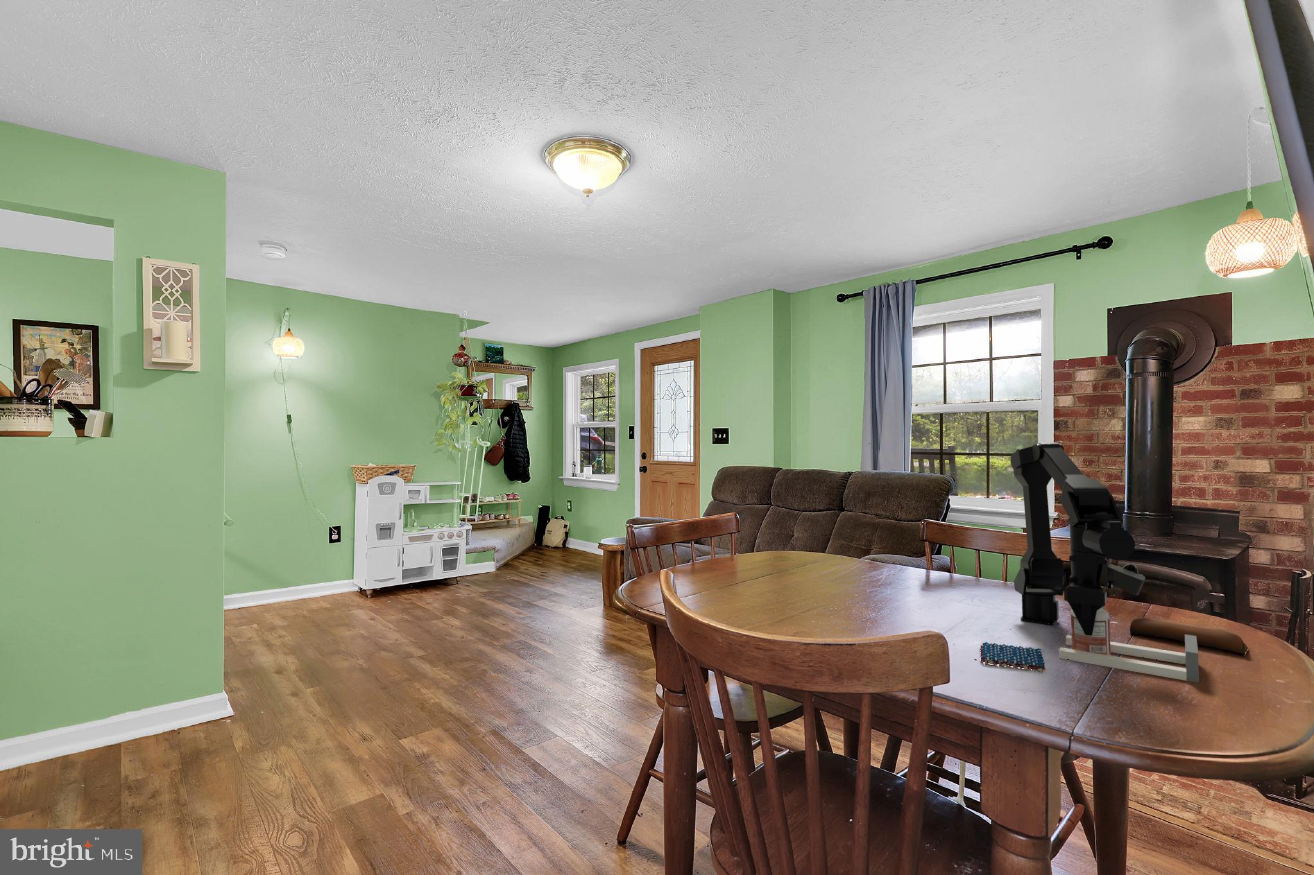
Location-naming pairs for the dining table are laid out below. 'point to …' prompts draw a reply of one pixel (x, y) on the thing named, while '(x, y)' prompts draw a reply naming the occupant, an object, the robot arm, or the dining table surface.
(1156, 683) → the dining table surface
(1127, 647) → the guide track
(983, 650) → the woven mat
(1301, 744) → the dining table surface
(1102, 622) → the pill bottle
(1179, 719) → the dining table surface
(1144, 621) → the sunglasses case
